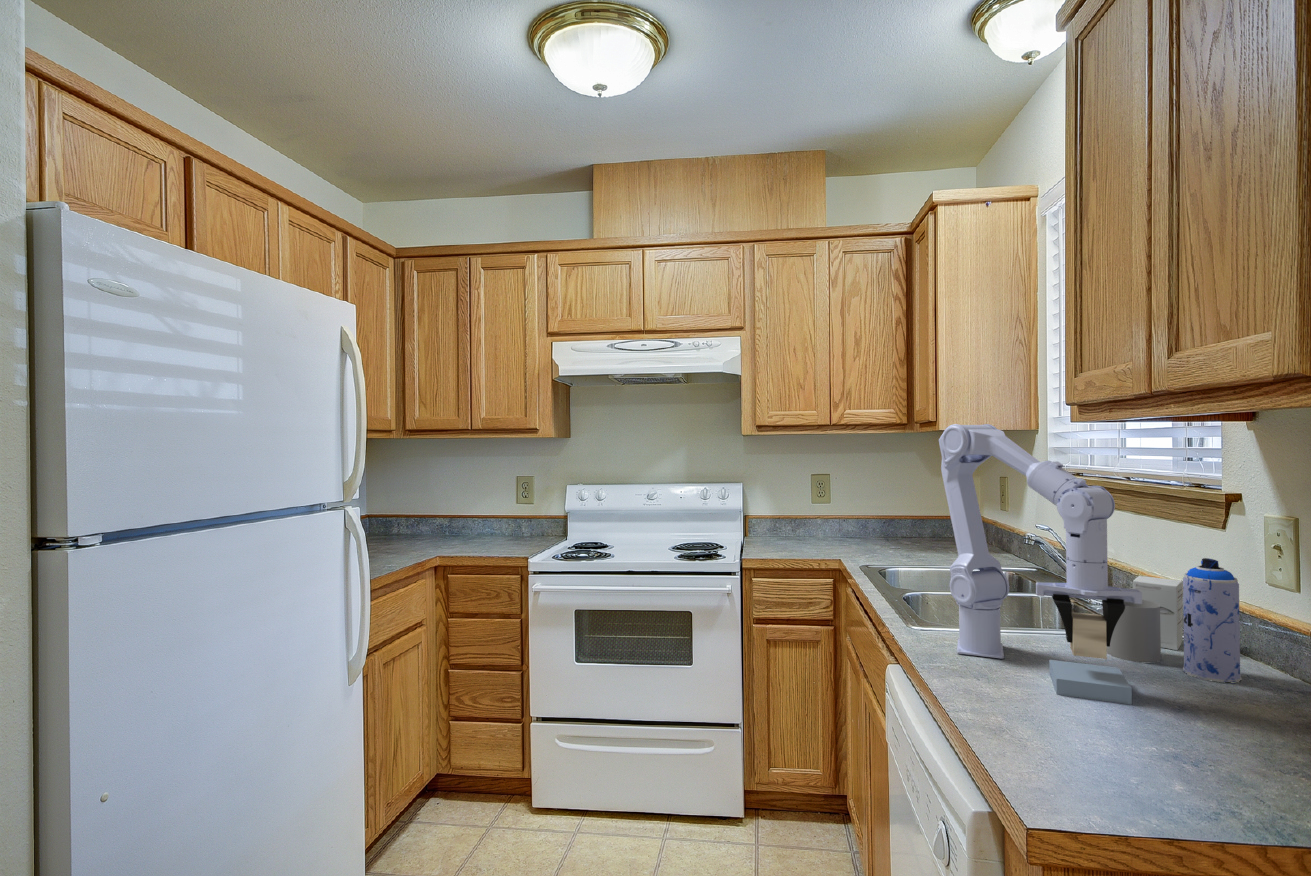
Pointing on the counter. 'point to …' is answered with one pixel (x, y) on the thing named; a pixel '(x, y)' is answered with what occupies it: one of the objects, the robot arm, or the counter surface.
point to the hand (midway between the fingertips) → (1087, 642)
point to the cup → (1137, 633)
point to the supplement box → (1165, 606)
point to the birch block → (1088, 635)
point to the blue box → (1090, 681)
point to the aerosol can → (1211, 623)
